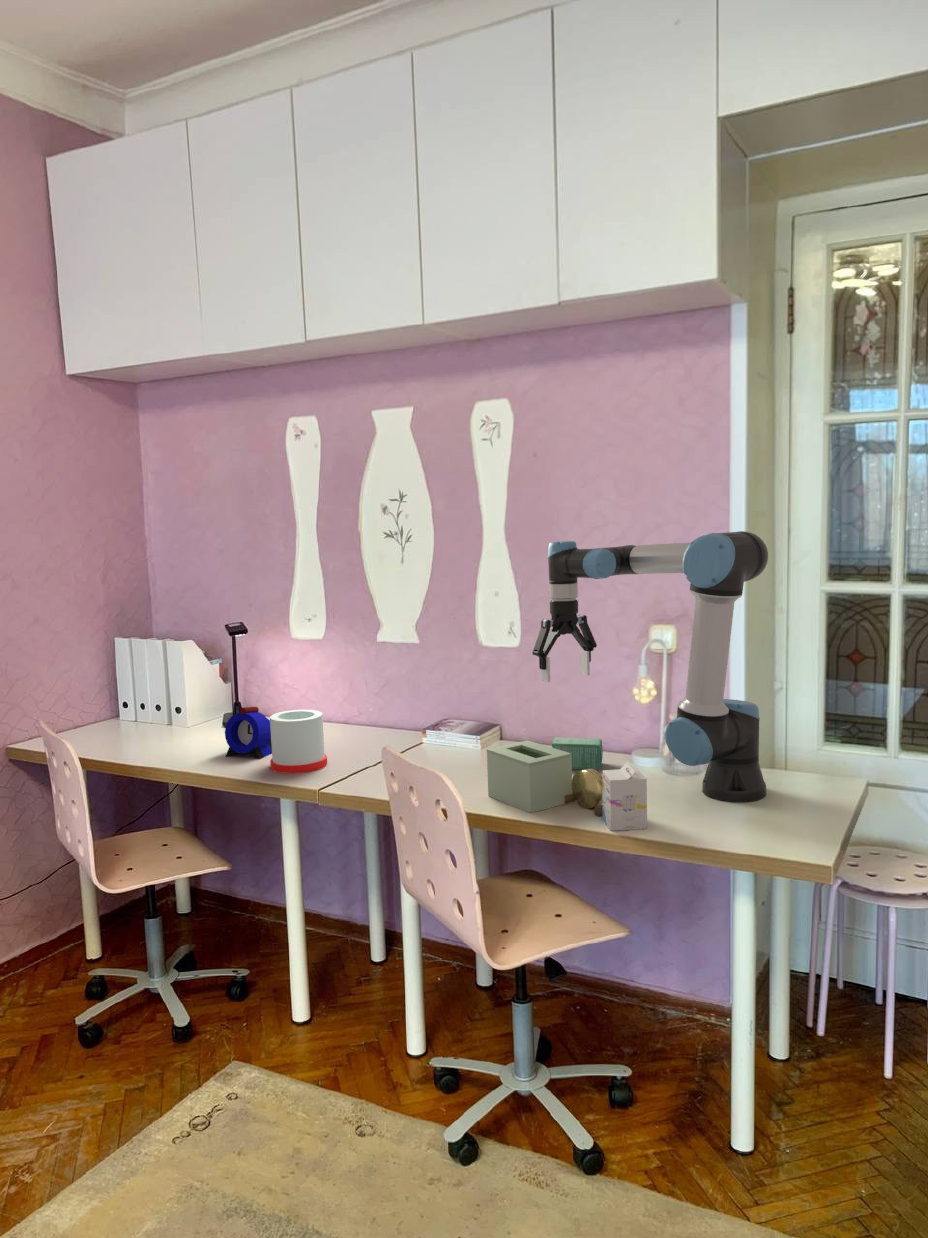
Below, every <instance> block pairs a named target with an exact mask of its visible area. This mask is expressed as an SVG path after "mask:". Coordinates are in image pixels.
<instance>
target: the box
mask: <svg viewBox="0 0 928 1238" xmlns="http://www.w3.org/2000/svg"><path fill="white" fill-rule="evenodd" d="M551 742H552V743H551V748H555V749H558V750H561V751H565V752H568V753H571V754H572V770H578V771H582V770H586V769H595V770H596V771H601V769H602V764H603V756H604V755H603V754H604V752H603V751H604V750H603V749H604V748H603V740H602V738H593V737H592V738H585V737H583V738H582V737H580V738H579V737H554V739H553V740H552V741H551Z"/></svg>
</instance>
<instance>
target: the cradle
mask: <svg viewBox="0 0 928 1238" xmlns="http://www.w3.org/2000/svg"><path fill="white" fill-rule="evenodd" d="M573 802H577V801H576V800H575V798H574V795H573V792H572V794H569V795H565V804H564V805H567V804H571V803H573ZM594 815H595V816H597V817H599V818H600V817H603V804H601V805H598V806H595V807H594Z"/></svg>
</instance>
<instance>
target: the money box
mask: <svg viewBox="0 0 928 1238" xmlns="http://www.w3.org/2000/svg"><path fill="white" fill-rule="evenodd" d="M486 766H487V767H486V768H487V795H488V797H490V798H493V799H495V800H497V801H500V802H502V803H505V804H507V805H510V806H512V807H515V808H517V809H520V810H522V811H524V812H528V813H529V814H531V813H532V814H533V813H535V812H539V811H543V810H547V809H550V808H554V807H557V806H562V805H566V804H565V795H569V794H572V778H573V769H572V754H571V753H568V752H565V751H561V750H558V749H555V748H552V746H547V745H544V744H541V743H538V742H534V741H530V740H524V741H520V742H519V741H518V742H515V743H509V744H506V745H501V746H496V747H491V748H487V749H486Z"/></svg>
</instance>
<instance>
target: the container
mask: <svg viewBox="0 0 928 1238" xmlns="http://www.w3.org/2000/svg"><path fill="white" fill-rule="evenodd" d="M323 714H324V713H322V712H321V711H320V710H317V709H316V710H314V709H292V710H284V711H280V712H276V713H273V714H272V715H270V716H269V720H270V729H271V745H272V754H271V759H270V763H269V764H270V769H271V771H273V772H276V773H280V774H302V773H310V772H314V771H318V770H320V769H321V770H322V769H323V768H325V767H326V766H327V765H328V756H327V754H326V753H325V737H324V736H325V735H324V734H325V733H324V718H323V716H324V715H323Z"/></svg>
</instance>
